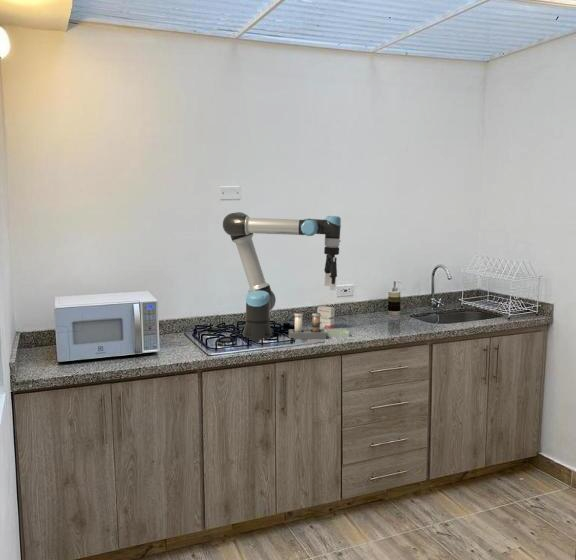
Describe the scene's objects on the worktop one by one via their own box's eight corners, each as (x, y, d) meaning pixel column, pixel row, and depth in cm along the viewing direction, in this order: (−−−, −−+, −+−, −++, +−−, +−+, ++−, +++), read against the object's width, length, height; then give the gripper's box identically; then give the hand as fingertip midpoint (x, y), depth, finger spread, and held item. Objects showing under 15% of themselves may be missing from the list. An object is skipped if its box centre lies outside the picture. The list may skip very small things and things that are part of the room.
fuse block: (290, 341, 299) (290, 333, 299) (288, 336, 308) (288, 329, 308) (325, 340, 301) (326, 333, 300) (323, 336, 310) (323, 329, 309)
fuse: (294, 338, 302) (294, 314, 300) (293, 336, 306) (294, 312, 304) (302, 337, 302) (303, 314, 300) (301, 336, 306) (302, 312, 304)
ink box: (334, 328, 329) (335, 307, 327) (330, 330, 325) (330, 308, 323) (320, 326, 334) (321, 305, 332) (316, 328, 329) (316, 306, 328)
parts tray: (326, 338, 306) (326, 333, 305) (323, 334, 315) (324, 329, 314) (349, 338, 307) (349, 333, 306) (346, 334, 316) (346, 329, 315)
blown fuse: (312, 337, 302) (312, 314, 301) (311, 335, 307) (311, 312, 305) (320, 337, 303) (321, 314, 301) (319, 335, 307) (319, 312, 305)
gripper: (344, 249, 294) (342, 292, 297) (334, 244, 318) (332, 284, 321) (329, 248, 293) (327, 291, 296) (320, 244, 317) (318, 283, 320)
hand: (329, 287), depth 308 cm, fingers open, 13 cm apart
